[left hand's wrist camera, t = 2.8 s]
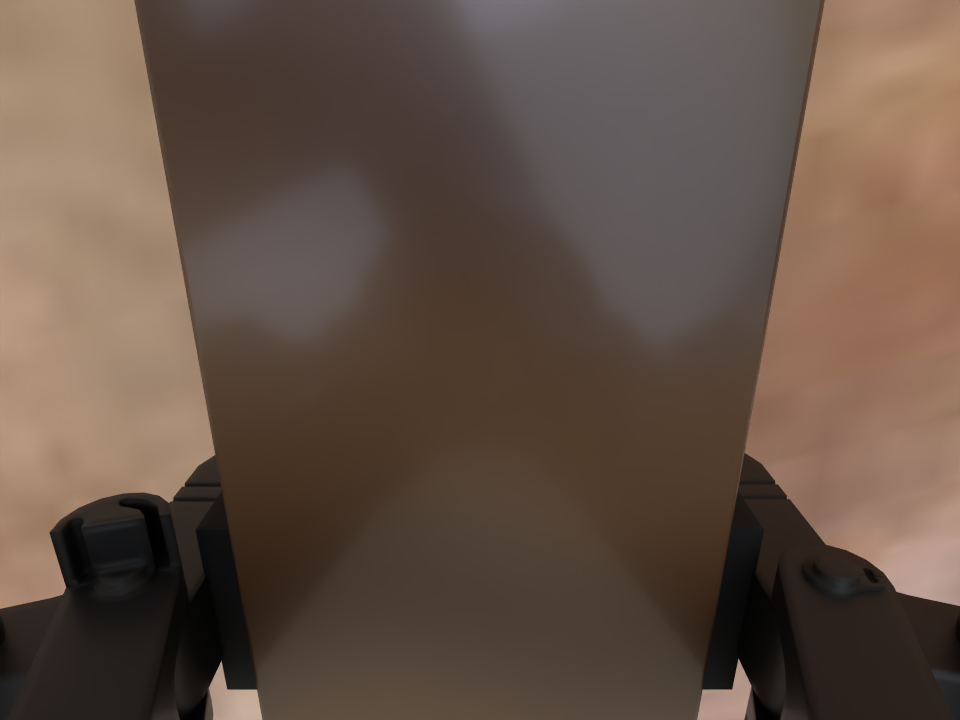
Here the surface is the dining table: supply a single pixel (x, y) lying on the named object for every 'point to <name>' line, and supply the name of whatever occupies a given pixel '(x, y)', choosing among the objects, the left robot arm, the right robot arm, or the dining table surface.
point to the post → (479, 332)
